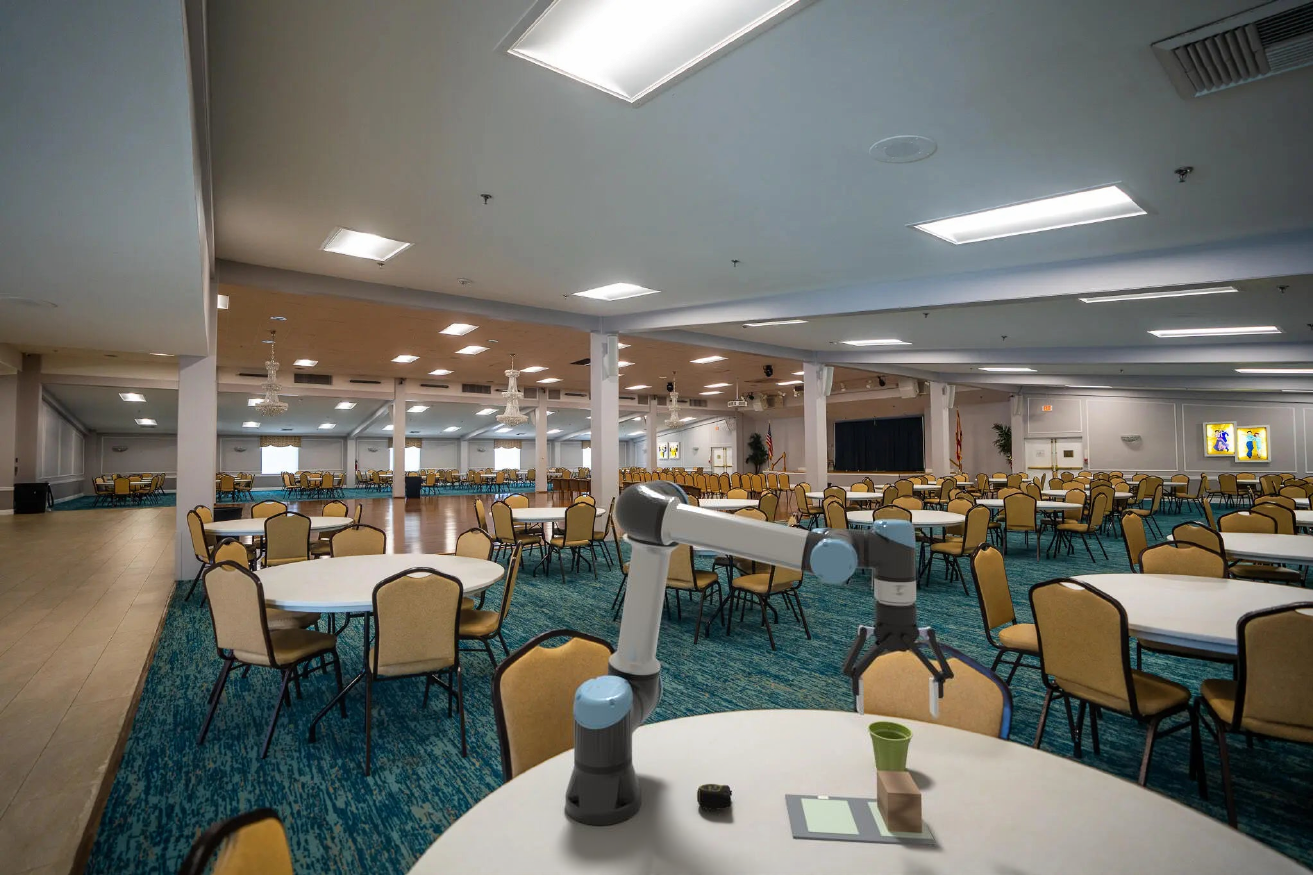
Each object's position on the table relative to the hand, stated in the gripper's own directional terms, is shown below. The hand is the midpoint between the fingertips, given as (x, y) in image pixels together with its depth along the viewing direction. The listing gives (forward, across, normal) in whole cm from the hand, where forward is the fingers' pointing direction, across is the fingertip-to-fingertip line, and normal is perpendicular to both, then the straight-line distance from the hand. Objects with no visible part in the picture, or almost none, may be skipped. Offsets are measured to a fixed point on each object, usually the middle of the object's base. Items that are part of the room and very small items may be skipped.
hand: (897, 713), depth 118 cm
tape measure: (+20, -32, 0) cm, 38 cm away
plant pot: (+21, +4, +21) cm, 30 cm away
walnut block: (+20, 0, 0) cm, 20 cm away
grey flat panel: (+21, -8, 0) cm, 22 cm away
